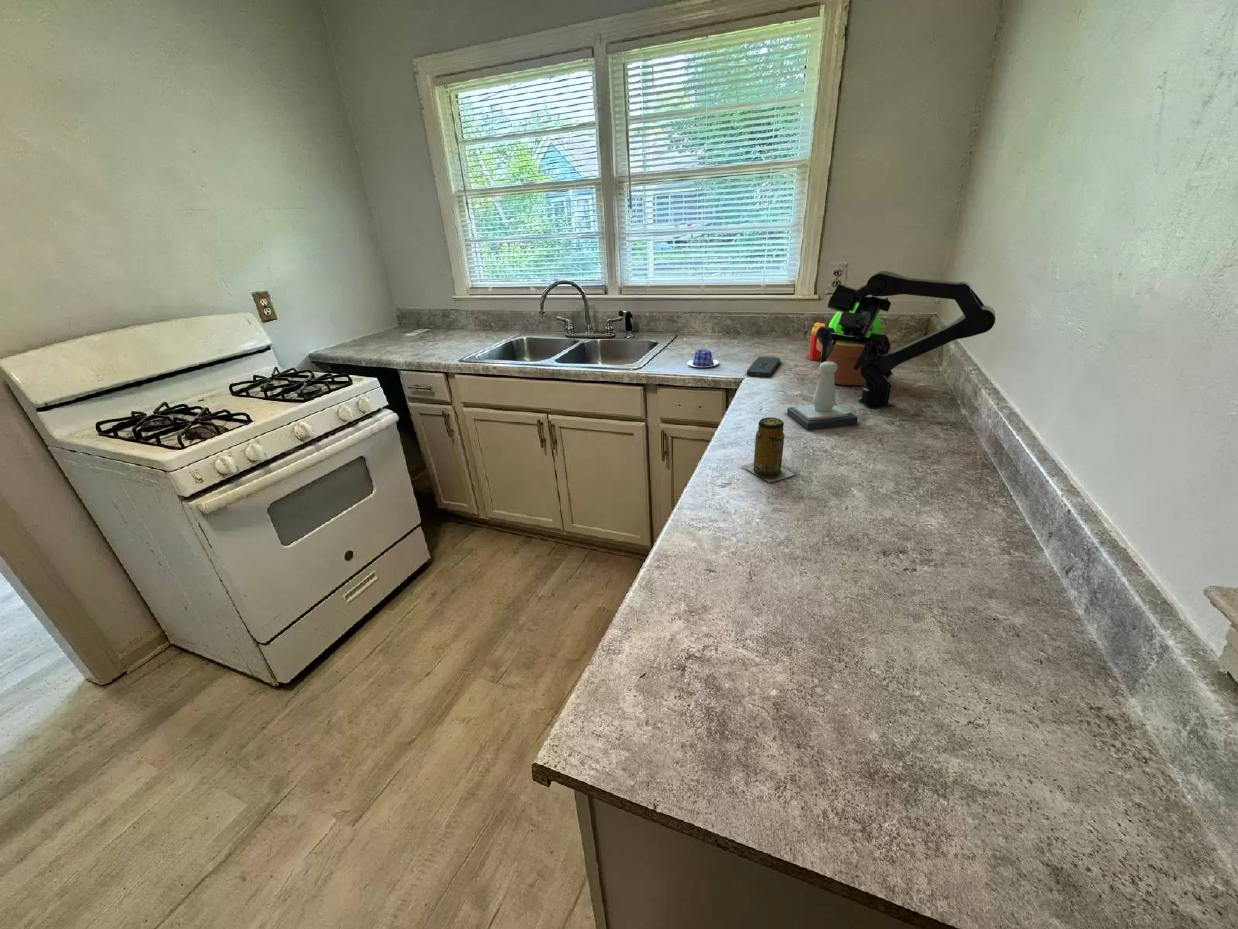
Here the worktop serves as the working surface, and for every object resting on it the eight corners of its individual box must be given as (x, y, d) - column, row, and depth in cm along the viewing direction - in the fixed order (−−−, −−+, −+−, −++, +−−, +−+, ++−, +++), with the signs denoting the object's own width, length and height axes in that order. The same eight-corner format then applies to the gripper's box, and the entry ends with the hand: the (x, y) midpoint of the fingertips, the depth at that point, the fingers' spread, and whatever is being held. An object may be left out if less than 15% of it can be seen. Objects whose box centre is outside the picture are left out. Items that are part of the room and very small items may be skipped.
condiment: (768, 460, 116) (773, 413, 111) (795, 475, 109) (800, 425, 104) (744, 468, 113) (747, 420, 108) (769, 483, 107) (773, 432, 101)
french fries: (808, 354, 193) (812, 321, 187) (819, 355, 192) (824, 321, 186) (809, 361, 186) (813, 326, 180) (821, 361, 184) (825, 326, 178)
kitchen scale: (832, 408, 142) (834, 399, 141) (856, 424, 132) (858, 414, 130) (786, 414, 141) (787, 404, 140) (807, 430, 130) (808, 420, 129)
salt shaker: (835, 413, 132) (842, 365, 126) (813, 413, 133) (819, 365, 127) (831, 405, 137) (838, 359, 131) (810, 405, 138) (815, 359, 132)
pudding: (723, 361, 192) (724, 348, 190) (711, 370, 183) (711, 356, 181) (695, 359, 198) (695, 346, 196) (682, 367, 189) (682, 353, 187)
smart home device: (746, 370, 174) (758, 356, 190) (745, 375, 175) (758, 360, 191) (769, 372, 171) (780, 357, 186) (769, 377, 171) (780, 361, 187)
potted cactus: (811, 386, 161) (820, 306, 149) (814, 367, 178) (823, 295, 167) (886, 390, 153) (902, 307, 141) (882, 370, 171) (896, 294, 159)
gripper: (823, 296, 135) (797, 344, 134) (894, 301, 122) (865, 355, 121) (834, 320, 143) (809, 366, 142) (901, 328, 130) (874, 378, 129)
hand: (837, 366), depth 133 cm, fingers open, 9 cm apart
